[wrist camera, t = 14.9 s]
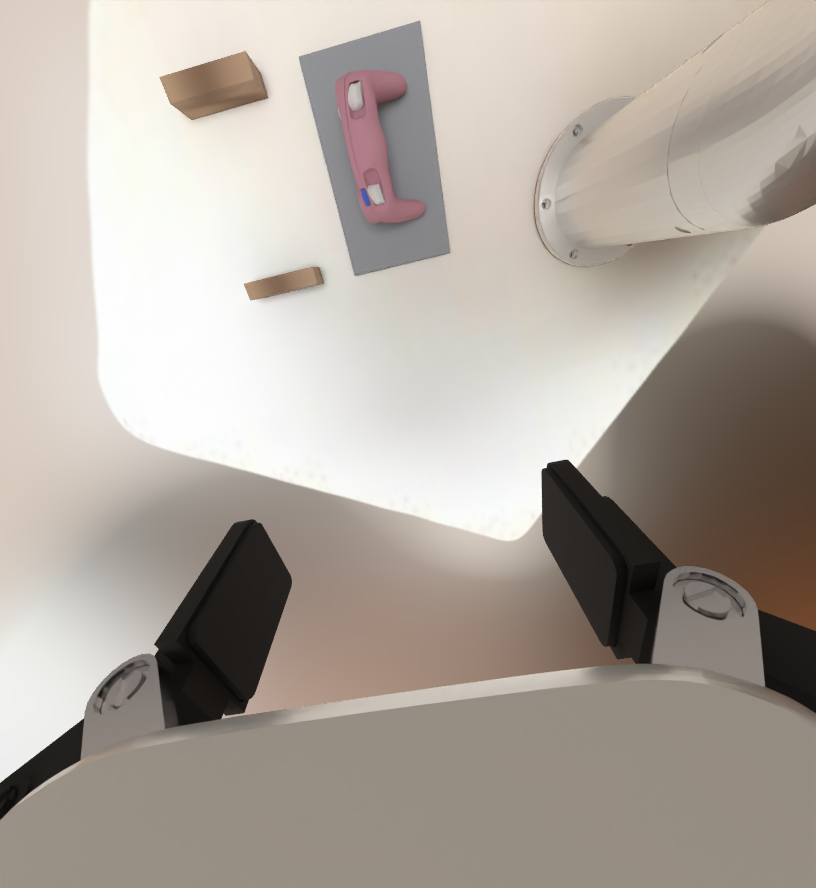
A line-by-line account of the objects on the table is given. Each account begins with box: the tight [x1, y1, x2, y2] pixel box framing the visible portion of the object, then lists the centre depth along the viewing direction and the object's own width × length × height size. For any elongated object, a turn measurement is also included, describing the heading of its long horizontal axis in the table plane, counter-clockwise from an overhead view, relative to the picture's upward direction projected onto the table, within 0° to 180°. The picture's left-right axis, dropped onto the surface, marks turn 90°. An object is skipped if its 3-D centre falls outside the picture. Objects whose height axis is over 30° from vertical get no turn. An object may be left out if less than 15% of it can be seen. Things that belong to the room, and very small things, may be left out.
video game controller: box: [335, 70, 426, 224], centre depth 27 cm, size 10×5×7 cm, turn 12°
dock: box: [160, 51, 324, 300], centre depth 29 cm, size 7×16×3 cm, turn 12°
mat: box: [299, 21, 450, 276], centre depth 30 cm, size 10×16×1 cm, turn 12°
